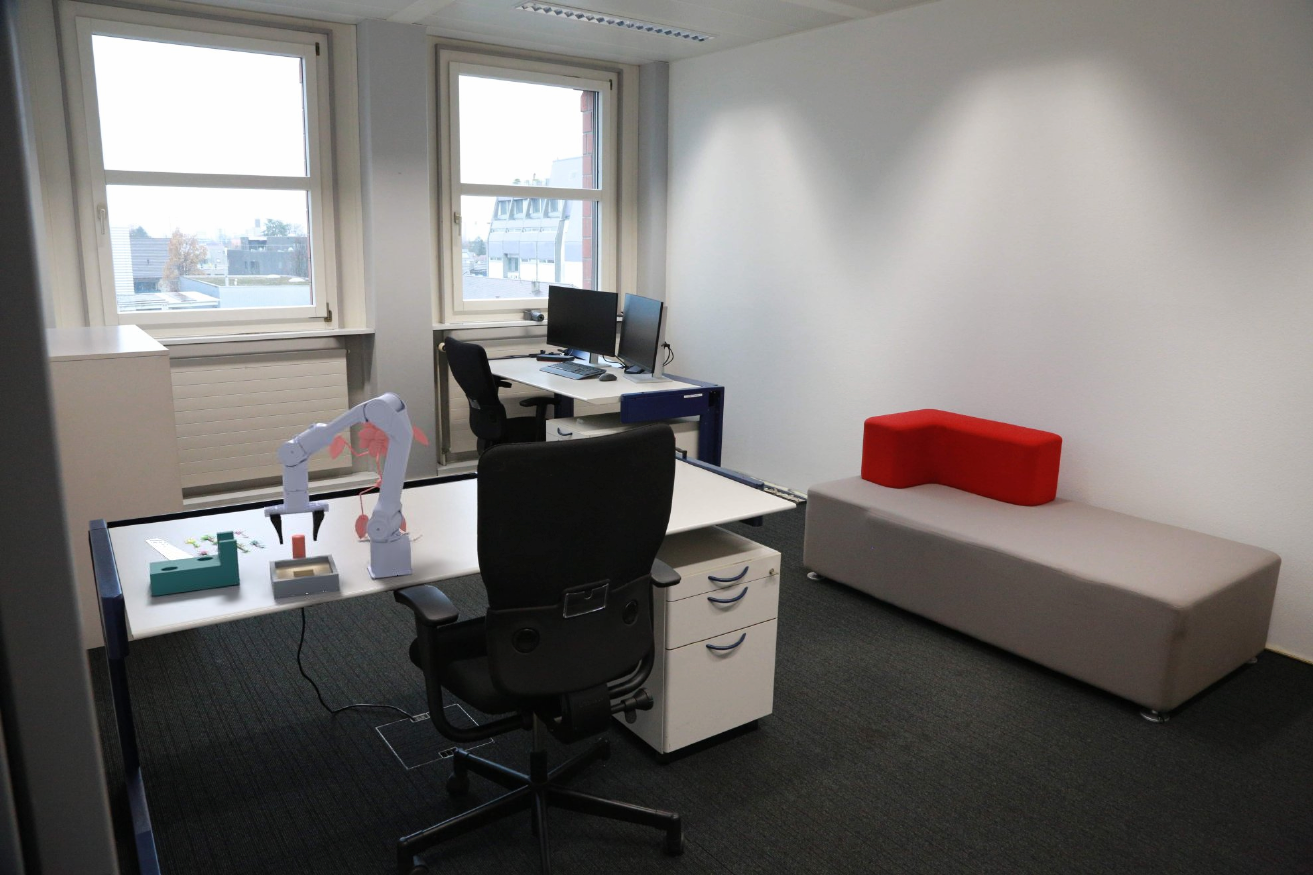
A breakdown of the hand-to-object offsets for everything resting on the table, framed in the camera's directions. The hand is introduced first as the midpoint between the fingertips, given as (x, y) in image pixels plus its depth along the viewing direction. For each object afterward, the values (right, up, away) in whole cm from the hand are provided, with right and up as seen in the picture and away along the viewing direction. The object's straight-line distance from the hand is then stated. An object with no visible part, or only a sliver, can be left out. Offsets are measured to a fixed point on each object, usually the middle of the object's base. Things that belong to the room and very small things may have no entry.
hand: (298, 541), depth 220 cm
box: (+5, -9, -9) cm, 13 cm away
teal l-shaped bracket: (-20, -9, -11) cm, 24 cm away
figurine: (+14, -2, +25) cm, 29 cm away
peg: (0, -7, +1) cm, 7 cm away
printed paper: (-25, -3, +16) cm, 30 cm away
